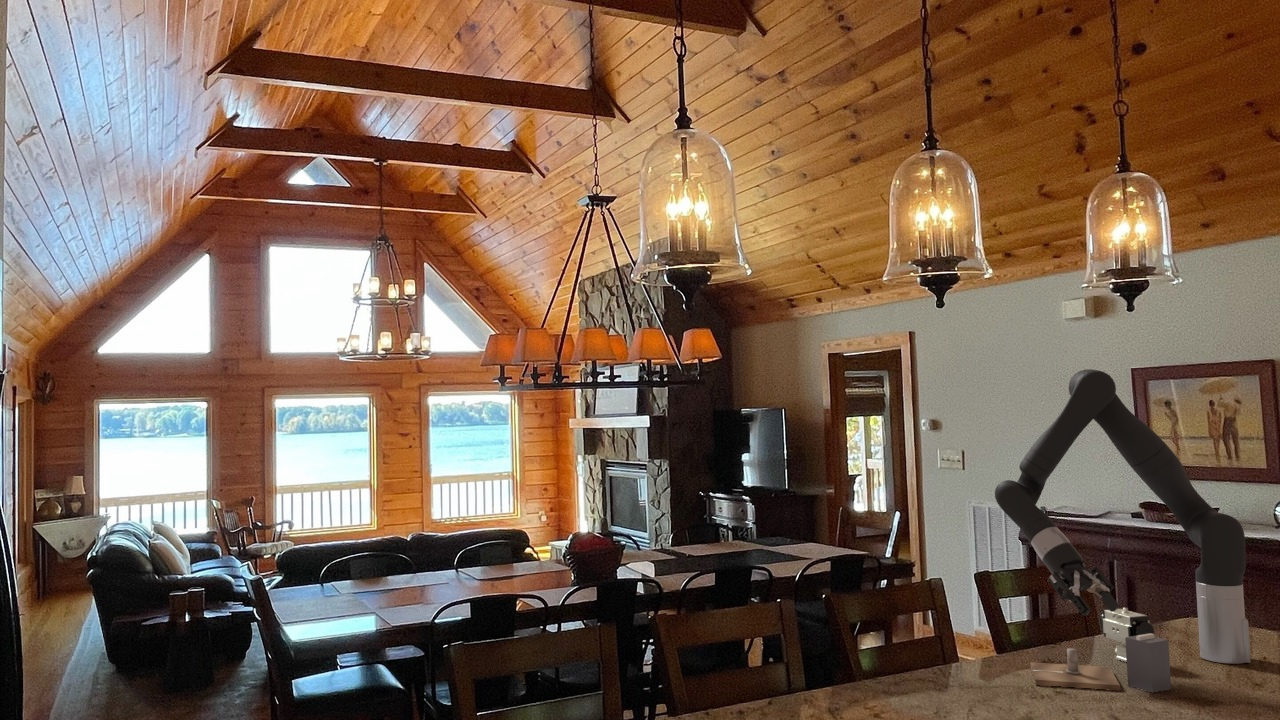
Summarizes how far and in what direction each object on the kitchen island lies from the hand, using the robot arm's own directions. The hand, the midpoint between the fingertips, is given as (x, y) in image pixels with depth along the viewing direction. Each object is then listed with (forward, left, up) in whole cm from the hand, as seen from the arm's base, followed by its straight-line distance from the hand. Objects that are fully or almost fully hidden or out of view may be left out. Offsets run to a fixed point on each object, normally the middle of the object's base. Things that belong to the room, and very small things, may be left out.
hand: (1101, 611), depth 201 cm
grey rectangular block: (-7, +8, -14) cm, 17 cm away
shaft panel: (+7, +5, -14) cm, 16 cm away
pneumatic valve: (-6, -13, -14) cm, 20 cm away
